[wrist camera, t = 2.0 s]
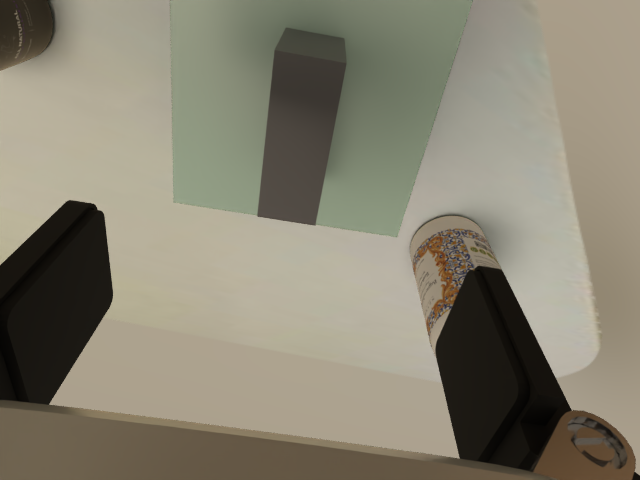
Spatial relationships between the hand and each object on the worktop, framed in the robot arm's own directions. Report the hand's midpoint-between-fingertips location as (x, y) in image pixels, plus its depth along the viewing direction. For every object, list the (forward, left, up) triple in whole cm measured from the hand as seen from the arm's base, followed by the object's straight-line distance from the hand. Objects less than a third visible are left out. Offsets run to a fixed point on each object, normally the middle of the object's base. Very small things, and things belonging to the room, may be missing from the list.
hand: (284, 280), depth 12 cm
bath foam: (+15, +15, -26) cm, 34 cm away
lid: (0, 0, -15) cm, 15 cm away
